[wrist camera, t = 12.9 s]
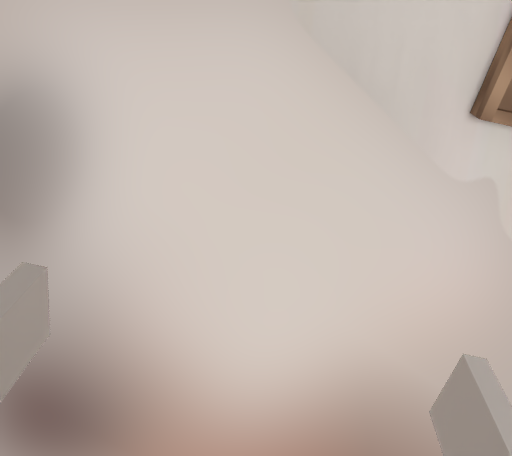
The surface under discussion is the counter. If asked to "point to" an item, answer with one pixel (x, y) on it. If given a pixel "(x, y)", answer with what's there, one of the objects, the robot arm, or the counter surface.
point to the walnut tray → (497, 86)
